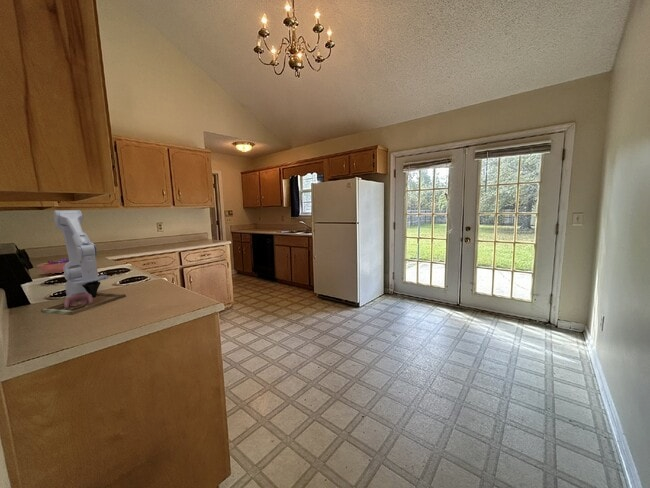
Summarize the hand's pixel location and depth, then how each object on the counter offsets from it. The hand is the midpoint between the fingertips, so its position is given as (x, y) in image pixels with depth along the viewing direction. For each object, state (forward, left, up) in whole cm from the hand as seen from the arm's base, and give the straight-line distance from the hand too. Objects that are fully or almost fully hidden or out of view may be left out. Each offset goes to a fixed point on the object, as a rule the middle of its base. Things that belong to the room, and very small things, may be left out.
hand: (93, 297), depth 131 cm
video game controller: (0, -6, -2) cm, 7 cm away
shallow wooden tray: (0, -3, -2) cm, 4 cm away
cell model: (-94, +46, -2) cm, 105 cm away
